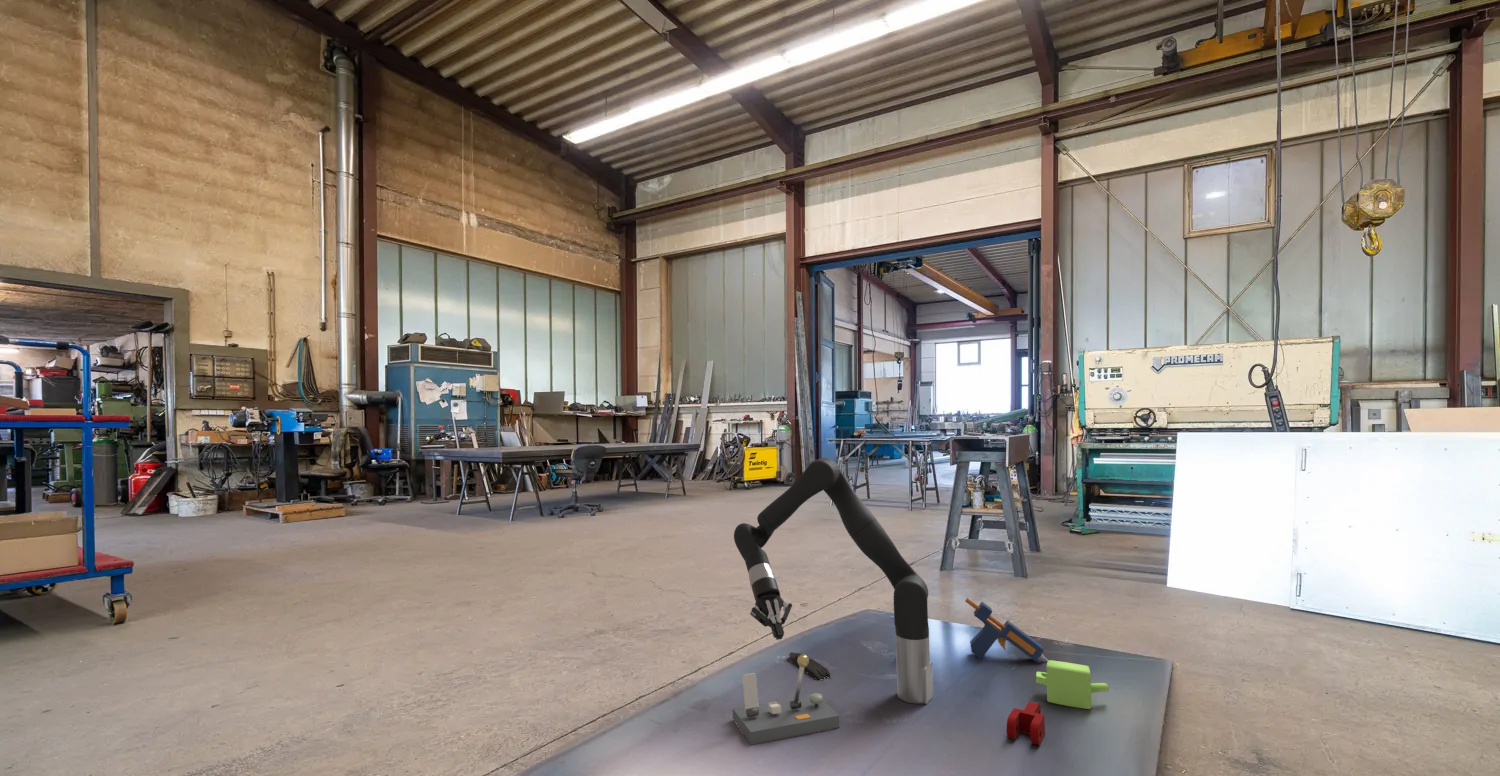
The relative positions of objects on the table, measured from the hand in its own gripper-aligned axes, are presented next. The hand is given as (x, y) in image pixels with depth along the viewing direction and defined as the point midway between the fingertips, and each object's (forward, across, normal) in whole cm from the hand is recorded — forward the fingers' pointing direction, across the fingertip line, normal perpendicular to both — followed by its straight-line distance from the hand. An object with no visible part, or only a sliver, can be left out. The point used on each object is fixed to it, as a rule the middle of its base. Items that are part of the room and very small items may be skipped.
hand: (780, 638), depth 176 cm
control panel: (+20, -3, +6) cm, 21 cm away
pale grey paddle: (+17, -12, +3) cm, 21 cm away
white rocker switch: (+17, -6, +3) cm, 18 cm away
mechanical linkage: (+39, +52, -12) cm, 66 cm away
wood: (-3, +20, +30) cm, 36 cm away
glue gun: (+9, +83, +17) cm, 85 cm away
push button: (+18, +6, +4) cm, 19 cm away
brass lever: (+17, 0, +3) cm, 17 cm away
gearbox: (+32, +77, -6) cm, 83 cm away
